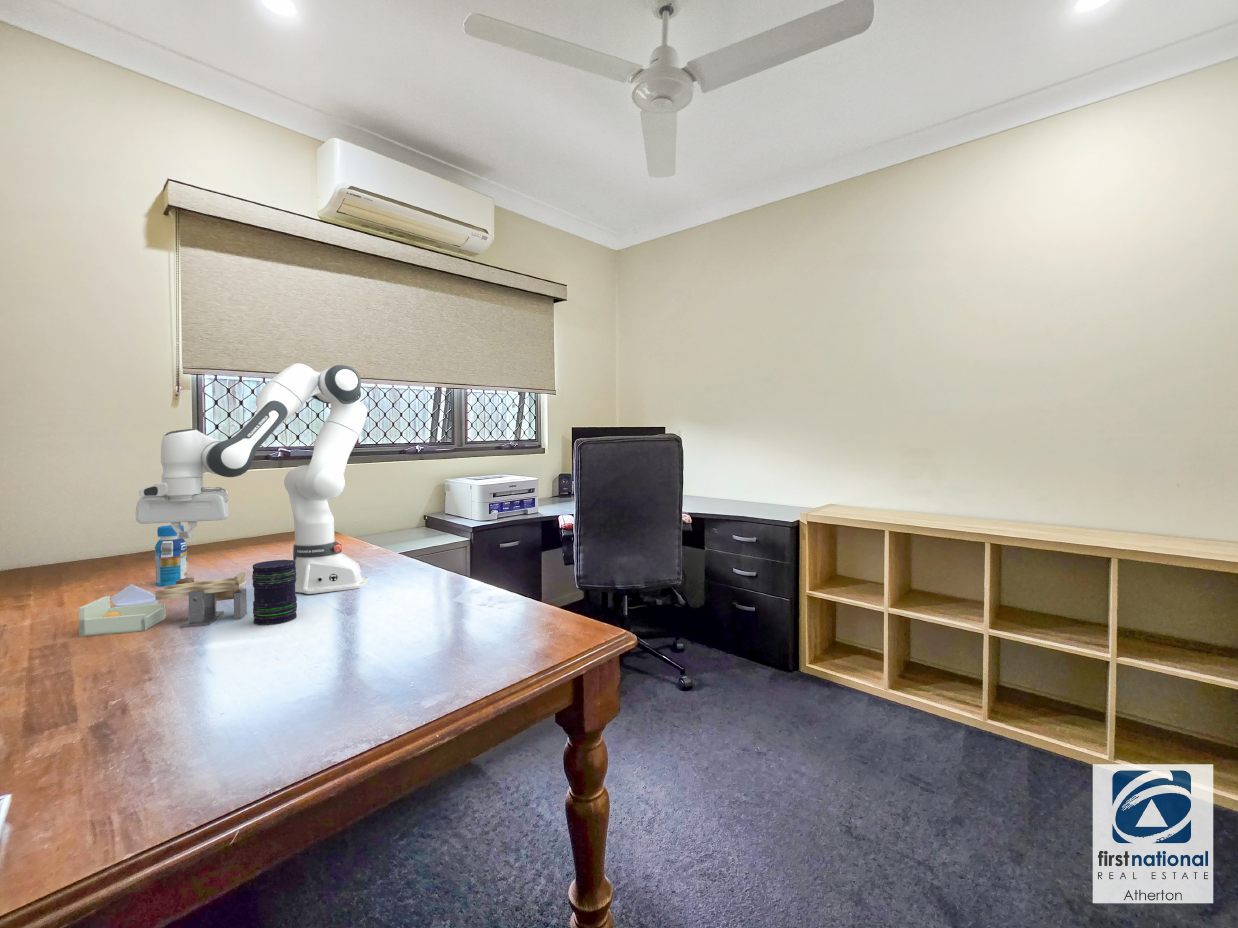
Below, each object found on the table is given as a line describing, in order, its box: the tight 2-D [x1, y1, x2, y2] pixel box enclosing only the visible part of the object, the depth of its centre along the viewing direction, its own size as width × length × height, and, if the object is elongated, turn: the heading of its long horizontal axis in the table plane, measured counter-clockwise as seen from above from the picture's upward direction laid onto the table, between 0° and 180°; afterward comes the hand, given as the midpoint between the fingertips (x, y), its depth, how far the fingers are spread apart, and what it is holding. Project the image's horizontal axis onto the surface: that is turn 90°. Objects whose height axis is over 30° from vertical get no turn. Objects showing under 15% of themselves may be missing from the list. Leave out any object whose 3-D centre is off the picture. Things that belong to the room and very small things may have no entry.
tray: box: [78, 595, 167, 638], centre depth 137 cm, size 13×11×7 cm
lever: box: [154, 571, 247, 602], centre depth 146 cm, size 18×15×6 cm
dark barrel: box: [251, 559, 298, 626], centre depth 142 cm, size 10×10×15 cm
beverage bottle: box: [154, 524, 189, 587], centre depth 178 cm, size 8×8×20 cm
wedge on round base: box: [110, 583, 159, 607], centre depth 150 cm, size 9×7×13 cm
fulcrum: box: [179, 588, 248, 629], centre depth 143 cm, size 12×11×9 cm
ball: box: [103, 612, 121, 617], centre depth 136 cm, size 4×4×4 cm
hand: (184, 538), depth 148 cm, fingers closed
